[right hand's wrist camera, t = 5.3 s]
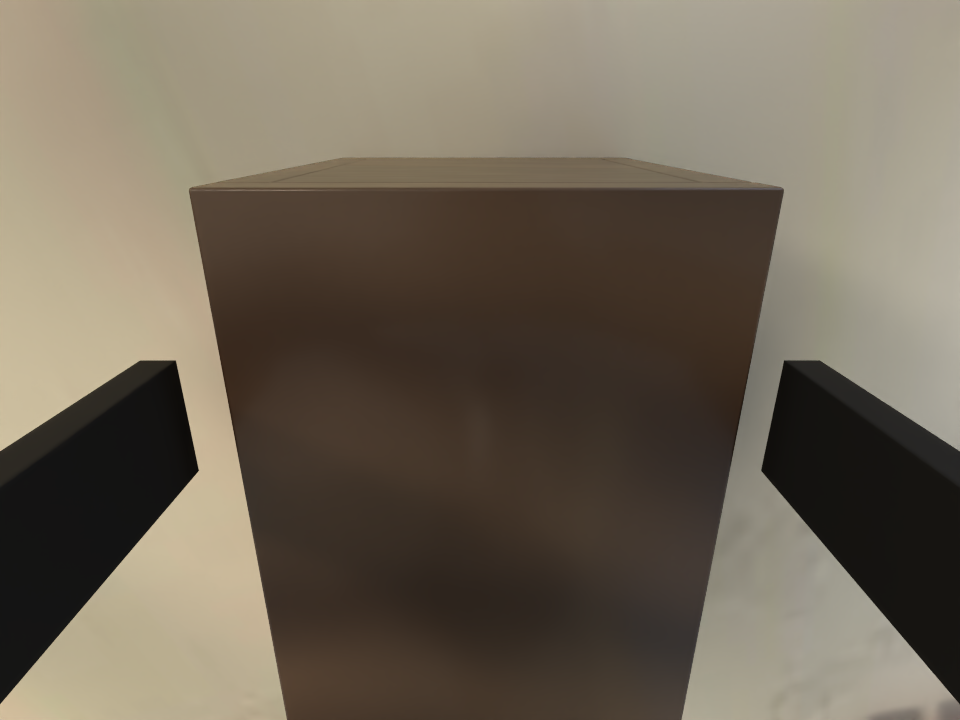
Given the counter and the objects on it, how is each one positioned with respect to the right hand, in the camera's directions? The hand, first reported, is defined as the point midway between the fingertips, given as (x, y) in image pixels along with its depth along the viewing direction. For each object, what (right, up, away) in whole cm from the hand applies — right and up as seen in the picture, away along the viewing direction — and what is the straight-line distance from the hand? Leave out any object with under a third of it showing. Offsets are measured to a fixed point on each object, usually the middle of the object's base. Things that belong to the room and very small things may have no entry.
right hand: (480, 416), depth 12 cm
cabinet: (0, -1, +12) cm, 12 cm away
